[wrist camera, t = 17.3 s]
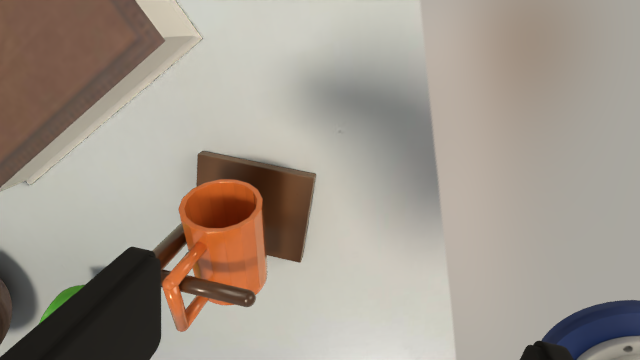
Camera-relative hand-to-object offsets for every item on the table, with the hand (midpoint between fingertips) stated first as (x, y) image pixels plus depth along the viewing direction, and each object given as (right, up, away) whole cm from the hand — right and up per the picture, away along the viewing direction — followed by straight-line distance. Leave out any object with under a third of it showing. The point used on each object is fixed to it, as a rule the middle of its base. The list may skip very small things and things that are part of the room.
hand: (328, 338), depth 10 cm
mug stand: (-7, +1, +31) cm, 32 cm away
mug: (-9, -6, +25) cm, 28 cm away
